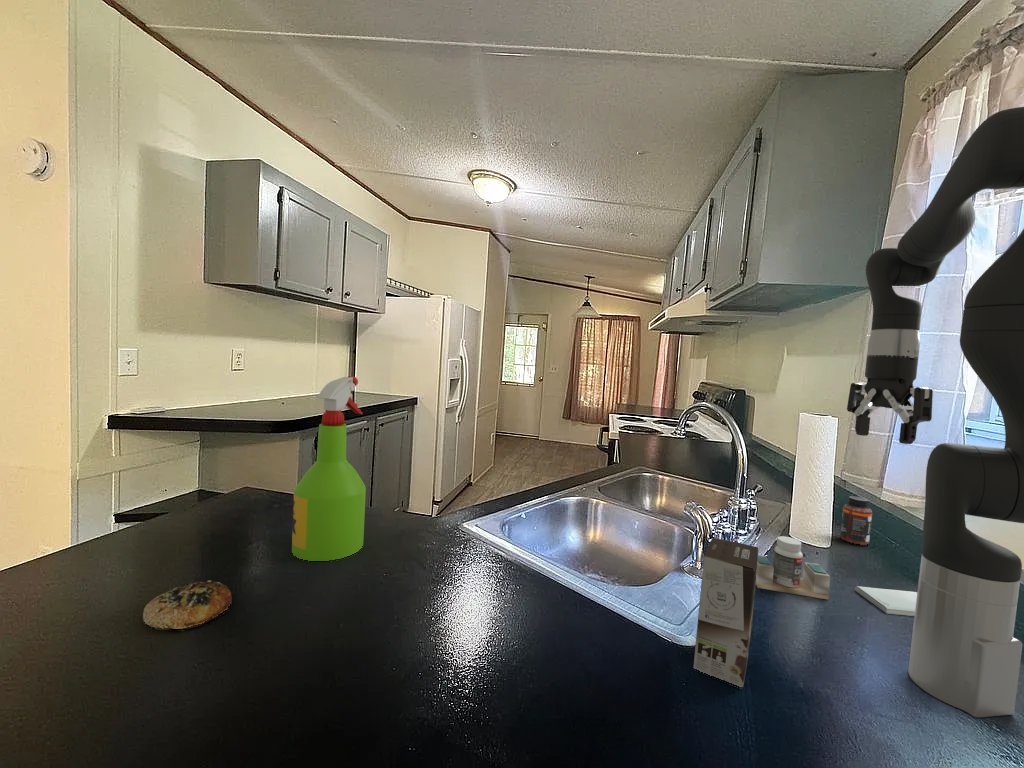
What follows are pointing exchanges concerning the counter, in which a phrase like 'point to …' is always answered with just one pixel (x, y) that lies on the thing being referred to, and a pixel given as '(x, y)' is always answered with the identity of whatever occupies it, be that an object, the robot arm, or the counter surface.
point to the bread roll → (187, 605)
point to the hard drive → (890, 600)
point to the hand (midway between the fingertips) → (883, 439)
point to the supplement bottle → (856, 521)
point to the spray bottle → (330, 487)
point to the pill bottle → (787, 562)
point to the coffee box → (726, 610)
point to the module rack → (810, 584)
